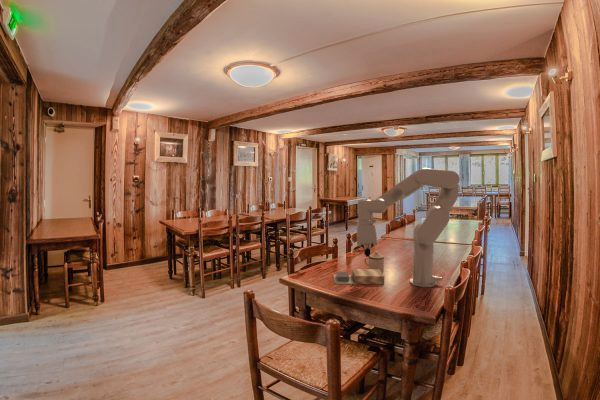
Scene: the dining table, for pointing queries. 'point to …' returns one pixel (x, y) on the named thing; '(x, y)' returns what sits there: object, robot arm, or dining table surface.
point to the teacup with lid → (376, 261)
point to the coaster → (342, 276)
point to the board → (367, 276)
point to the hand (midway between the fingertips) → (367, 256)
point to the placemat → (343, 281)
